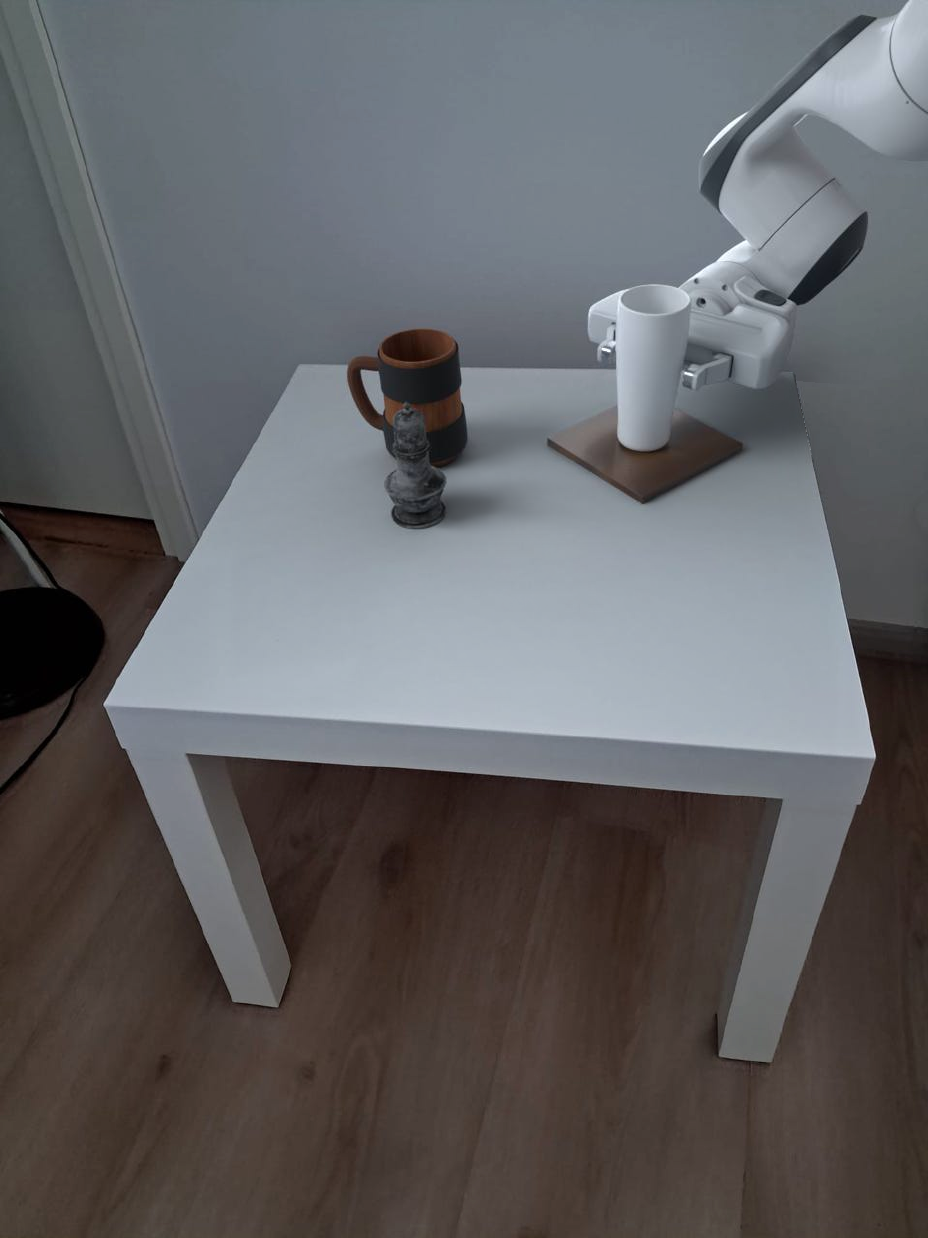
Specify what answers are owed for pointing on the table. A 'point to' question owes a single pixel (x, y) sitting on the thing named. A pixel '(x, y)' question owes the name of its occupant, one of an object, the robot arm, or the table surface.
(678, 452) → the walnut board
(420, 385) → the mug
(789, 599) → the table surface
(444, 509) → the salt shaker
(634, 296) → the drinking glass
